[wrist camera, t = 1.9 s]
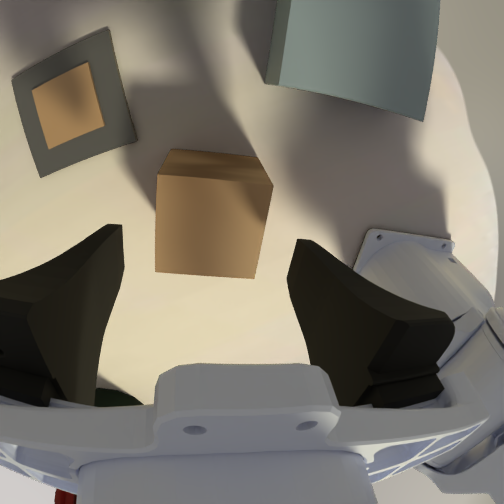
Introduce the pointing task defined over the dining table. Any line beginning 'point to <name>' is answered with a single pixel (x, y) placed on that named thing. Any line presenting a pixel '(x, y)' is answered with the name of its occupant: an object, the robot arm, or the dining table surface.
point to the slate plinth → (357, 50)
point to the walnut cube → (210, 214)
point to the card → (74, 105)
